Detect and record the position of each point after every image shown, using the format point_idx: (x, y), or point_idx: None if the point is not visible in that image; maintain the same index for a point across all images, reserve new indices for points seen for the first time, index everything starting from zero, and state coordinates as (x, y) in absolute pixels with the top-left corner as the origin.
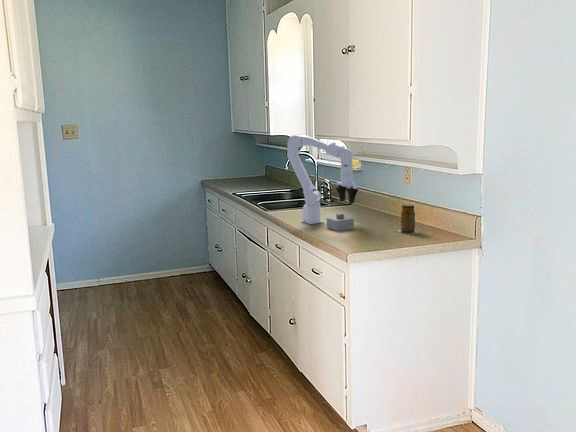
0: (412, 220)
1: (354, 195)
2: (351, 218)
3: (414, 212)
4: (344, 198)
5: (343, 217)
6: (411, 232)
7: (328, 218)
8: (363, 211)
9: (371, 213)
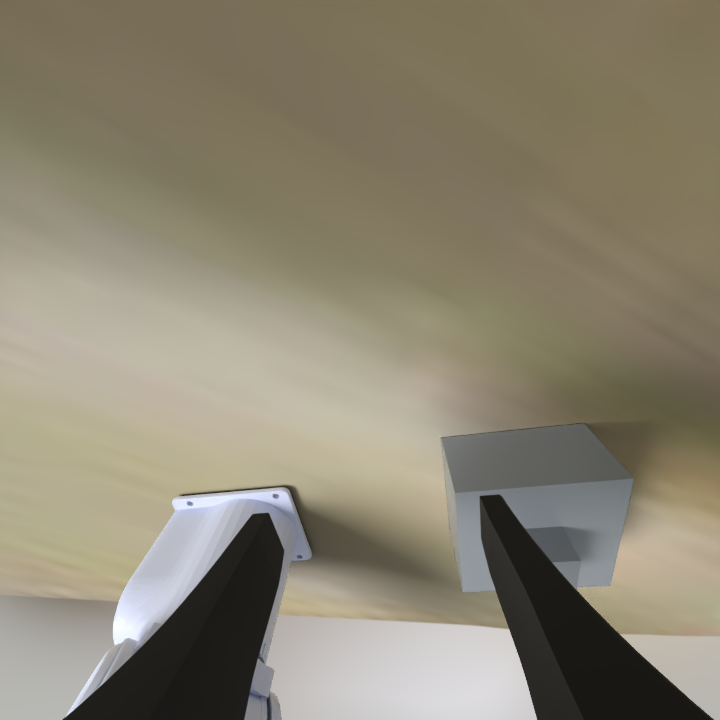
0: None
1: (574, 621)
2: (612, 487)
3: None
4: (255, 547)
5: (566, 536)
6: None
7: (484, 590)
8: None
9: None
